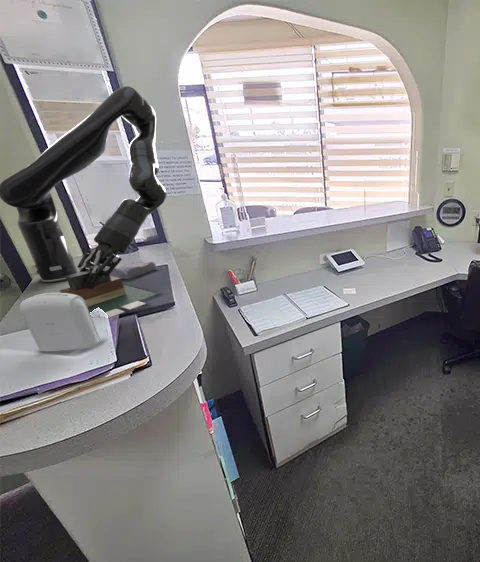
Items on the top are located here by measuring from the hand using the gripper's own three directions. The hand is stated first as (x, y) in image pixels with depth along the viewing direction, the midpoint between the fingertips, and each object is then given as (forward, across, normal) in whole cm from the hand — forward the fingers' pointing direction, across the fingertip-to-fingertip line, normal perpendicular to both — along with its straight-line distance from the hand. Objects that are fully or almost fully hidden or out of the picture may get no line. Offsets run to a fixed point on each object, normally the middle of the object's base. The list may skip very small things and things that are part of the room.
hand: (82, 285), depth 83 cm
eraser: (+2, 0, -5) cm, 5 cm away
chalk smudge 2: (+1, -13, -7) cm, 15 cm away
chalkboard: (+3, -1, -6) cm, 6 cm away
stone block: (-10, +17, -18) cm, 27 cm away
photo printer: (+13, -22, +5) cm, 26 cm away
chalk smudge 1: (+5, -13, -3) cm, 15 cm away
